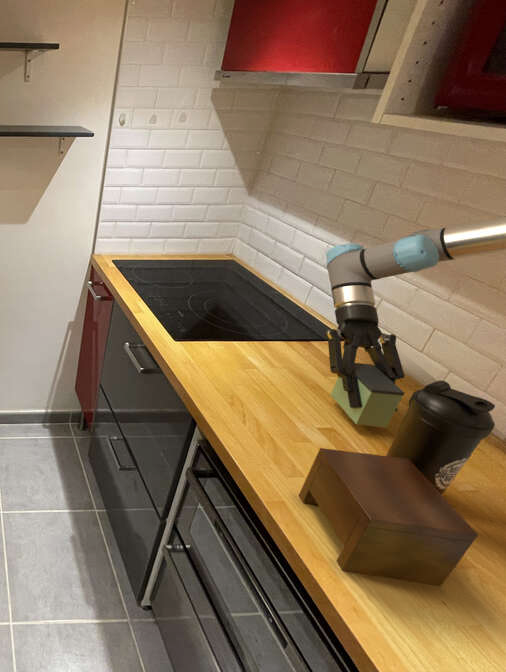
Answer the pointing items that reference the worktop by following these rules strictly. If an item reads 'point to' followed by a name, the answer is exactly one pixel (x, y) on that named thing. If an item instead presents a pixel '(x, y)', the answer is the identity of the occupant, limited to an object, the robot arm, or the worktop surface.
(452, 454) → the water bottle
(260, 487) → the worktop surface
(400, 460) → the walnut shelf
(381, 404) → the box
